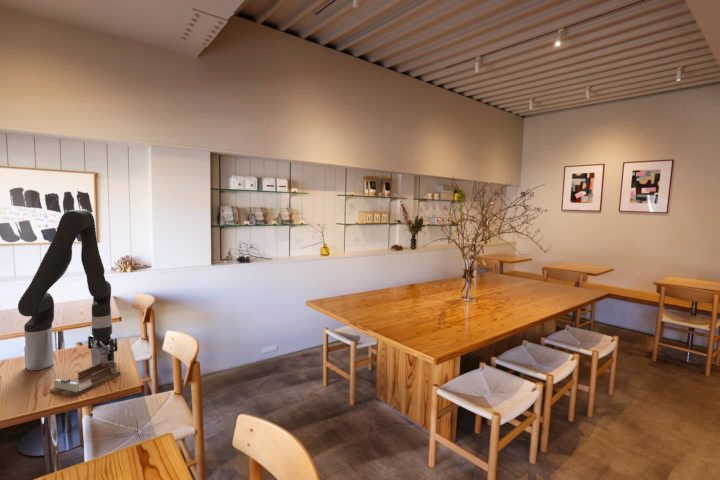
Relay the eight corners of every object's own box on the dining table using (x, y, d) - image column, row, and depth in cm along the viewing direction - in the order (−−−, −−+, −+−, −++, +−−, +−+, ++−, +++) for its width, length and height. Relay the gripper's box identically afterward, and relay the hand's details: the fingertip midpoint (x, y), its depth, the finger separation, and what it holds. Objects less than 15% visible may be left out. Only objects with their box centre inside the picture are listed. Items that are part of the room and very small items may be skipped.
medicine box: (99, 369, 166) (99, 350, 165) (91, 368, 167) (90, 349, 166) (114, 362, 173) (114, 344, 173) (106, 360, 174) (106, 343, 173)
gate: (53, 388, 146) (52, 378, 145) (57, 386, 147) (57, 376, 147) (74, 392, 143) (74, 382, 142) (79, 390, 145) (78, 380, 144)
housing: (50, 392, 145) (49, 381, 145) (98, 370, 164) (97, 361, 164) (73, 397, 142) (73, 386, 142) (119, 374, 161) (119, 365, 161)
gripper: (81, 325, 166) (83, 360, 168) (106, 329, 163) (108, 365, 164) (97, 320, 174) (98, 354, 175) (121, 324, 170) (122, 358, 171)
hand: (103, 359), depth 170 cm, fingers open, 8 cm apart
